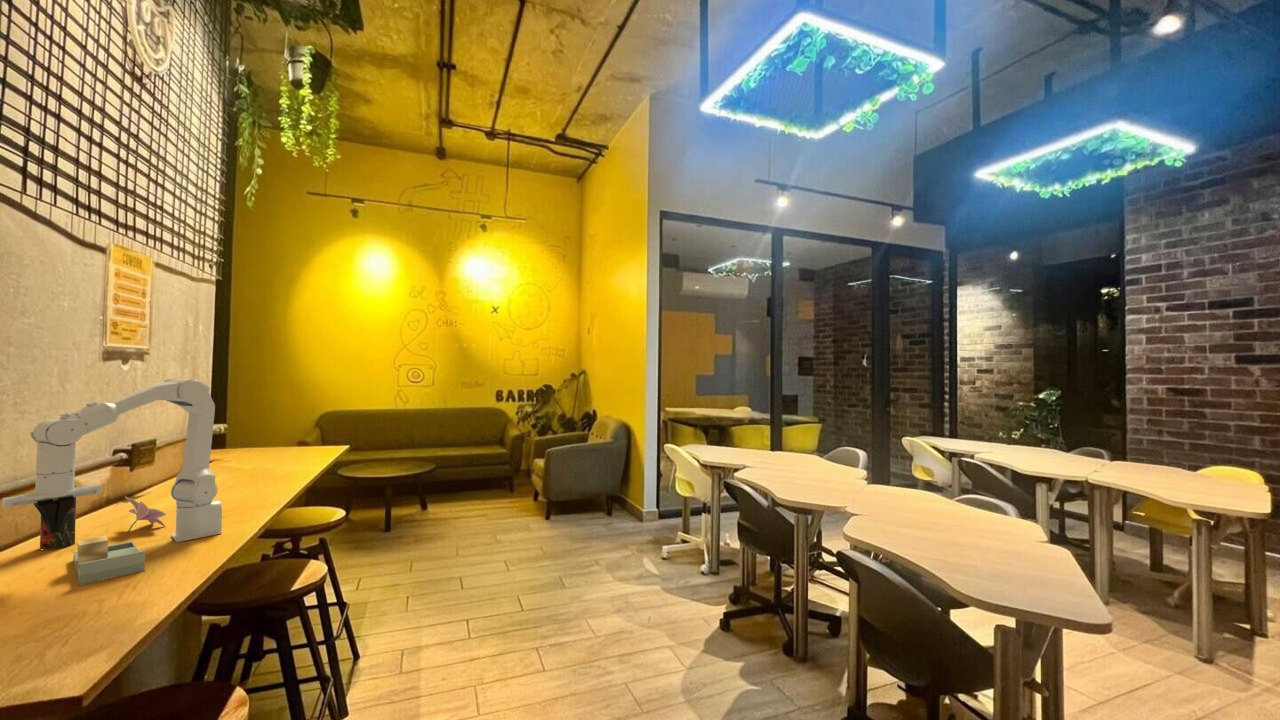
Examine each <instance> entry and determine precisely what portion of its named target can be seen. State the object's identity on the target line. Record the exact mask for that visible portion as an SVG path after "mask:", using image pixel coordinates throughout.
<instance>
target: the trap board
mask: <svg viewBox="0 0 1280 720" xmlns="http://www.w3.org/2000/svg"><path fill="white" fill-rule="evenodd" d="M73 563H74V570H75V573H76V576H77V577H76V578H77V582H78V585H79V586H83V585H88V584H92V583H95V582H94V581H97V582H99V581H98V580H101V581H103V580H102V579H106V580H108V579H107V578H110V579H112V578H111V577H115V578H117V577H116V576H119V577H123V576H122V575H124V576H127V574H128V575H132V574H136V572H137V573H140V571H141V572H144V571H145V567H146V550H140V551H139V549H138V548H137V546H136V544H135V542H134V541H133V540H132V541H127V542H121V543H117V544H111V545H108V558H105V559H100V560H95V561H90V562H85V563H80V565H78V562H77V551H74V552H73ZM91 582H92V583H91ZM87 583H88V584H87Z"/></svg>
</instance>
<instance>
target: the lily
mask: <svg viewBox="0 0 1280 720" xmlns="http://www.w3.org/2000/svg"><path fill="white" fill-rule="evenodd" d="M124 498H125V499H126V500H127V501H128V502H130V504H132V506H133V507H134V508H131V509H129V510H128V512H129V513H132V514H135V517H136V519H135V521H134V522H133V523H132V524H131V525H130V527H129V529H128V530H127V532H126V535H129V534H130V531H131V529H132V528H133V527H134V525H135V524H136V523H137V522H138V521H147V522H149V524H150V523H151V525H154V524H155V523H157V524H159V525H161V526H163V527H164V526H165V527H166V525H165V524H164V523H163V522H162V521H161V520H160V518H162V517H164V516H166V515H167V513H165V512H164V511H161V510H159V509H156V508H149V507H148V506H147V505H146V504H145V503H144V502H143V501H139V502H138V501H136V500H135V499H134V498H132V497H131V498H130V497H129V496H124Z"/></svg>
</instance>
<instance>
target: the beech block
mask: <svg viewBox="0 0 1280 720" xmlns="http://www.w3.org/2000/svg"><path fill="white" fill-rule="evenodd" d="M108 546H109V539H108V536H107V535H101V536H98V537H93V538H88V539H87V538H86V539H81V540H78V541H77V551H76V552H77V562H78V565H80V563H85V562H90V561H95V560H100V559H105V558H108Z"/></svg>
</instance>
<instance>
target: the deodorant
mask: <svg viewBox="0 0 1280 720" xmlns="http://www.w3.org/2000/svg"><path fill="white" fill-rule="evenodd" d="M74 487H78V486H77V485H74ZM67 496H69V495H67ZM61 497H62V496H61ZM54 498H55V497H54ZM45 499H48V498H45ZM73 499H75V503H74V505H73V506H72V507H71V508H70V510H69V511H68V513H67V514H66V516H65V518H64V520H63V522H62V525H61V528H60V532H58V533H52V534H49V533H47V527H46V524H45V521H44V519H43V517H42V515H41V514H40V527H39V529H40V530H39V531H40V532H39V533H40V534H39V536H40V539H39V550H40V549H43V550H45V551H55V550H60V549H65V548H69V547H71V546H73V545H75V544H76V524H77V523H76V521H77V520H76V519H77V518H76V517H77V497H73ZM43 550H42V551H43Z"/></svg>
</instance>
